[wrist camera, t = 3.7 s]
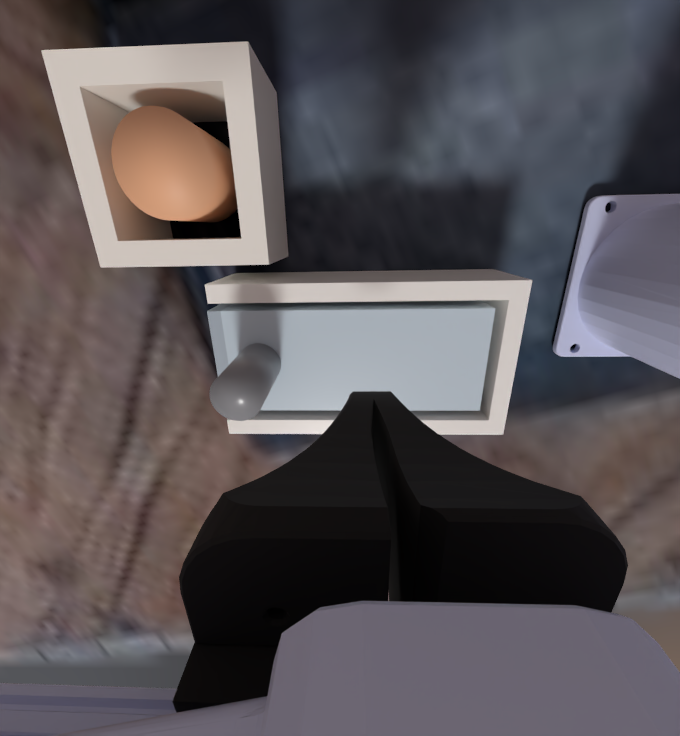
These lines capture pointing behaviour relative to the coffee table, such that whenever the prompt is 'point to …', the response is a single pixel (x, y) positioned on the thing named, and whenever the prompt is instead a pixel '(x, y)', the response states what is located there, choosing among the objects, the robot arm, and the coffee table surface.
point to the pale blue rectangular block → (348, 354)
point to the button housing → (197, 104)
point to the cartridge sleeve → (395, 286)
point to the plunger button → (173, 167)
